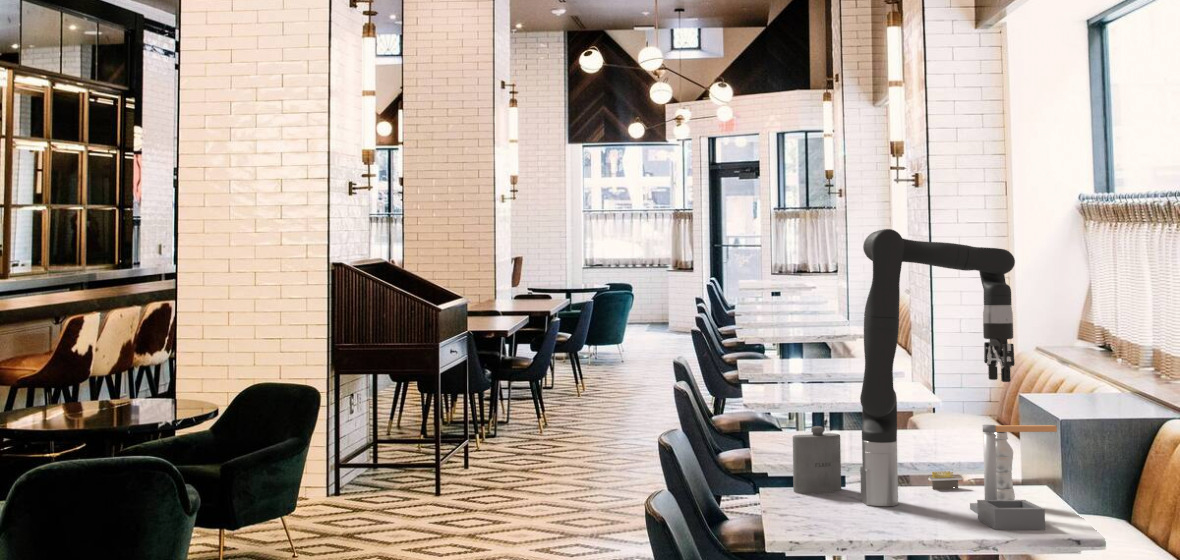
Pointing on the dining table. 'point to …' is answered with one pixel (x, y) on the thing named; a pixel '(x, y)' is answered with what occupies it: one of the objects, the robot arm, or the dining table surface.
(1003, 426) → the slender peach stick
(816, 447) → the flask
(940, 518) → the dining table surface
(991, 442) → the plug dock
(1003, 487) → the plastic bottle
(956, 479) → the platform
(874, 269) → the robot arm
